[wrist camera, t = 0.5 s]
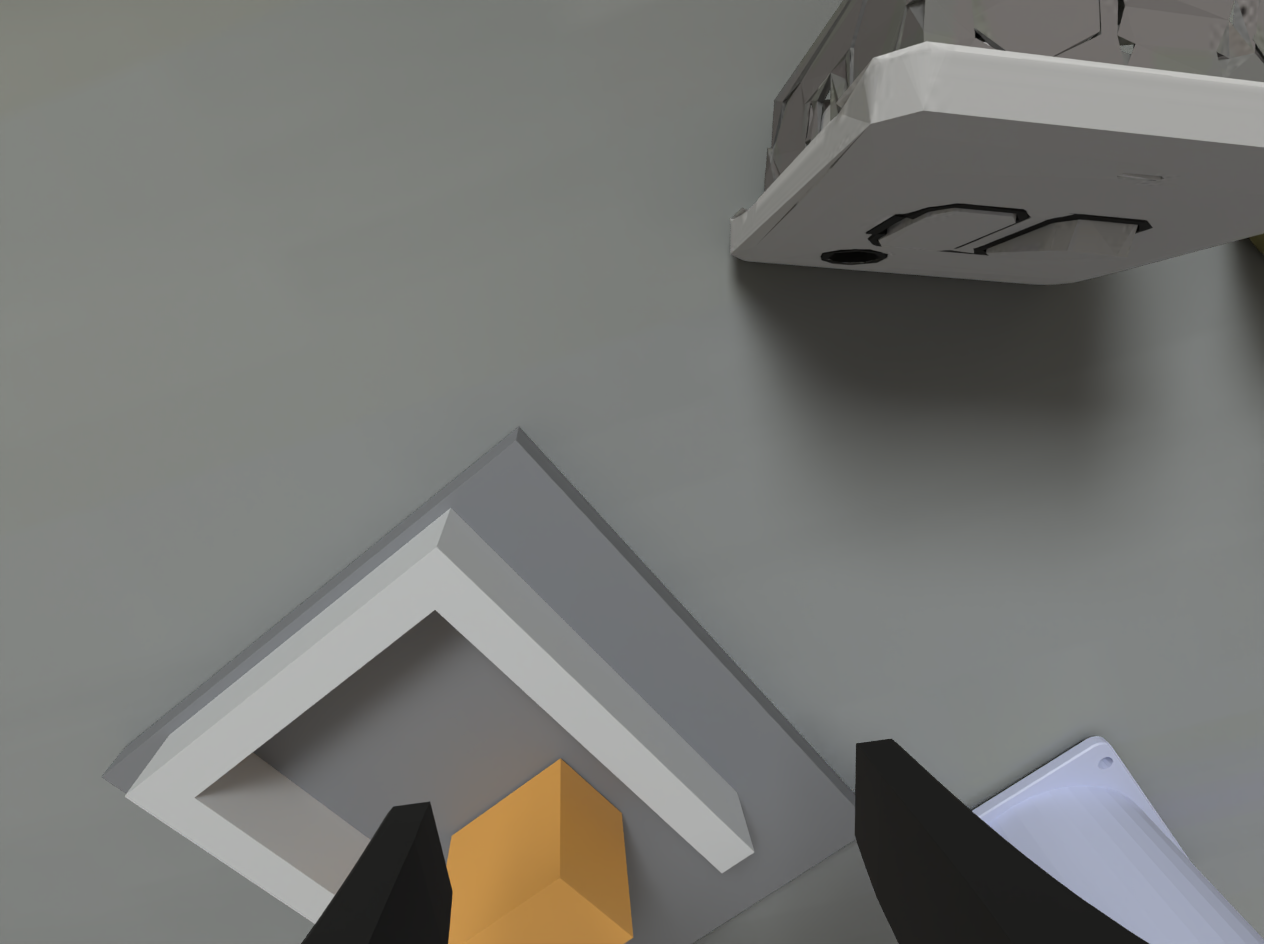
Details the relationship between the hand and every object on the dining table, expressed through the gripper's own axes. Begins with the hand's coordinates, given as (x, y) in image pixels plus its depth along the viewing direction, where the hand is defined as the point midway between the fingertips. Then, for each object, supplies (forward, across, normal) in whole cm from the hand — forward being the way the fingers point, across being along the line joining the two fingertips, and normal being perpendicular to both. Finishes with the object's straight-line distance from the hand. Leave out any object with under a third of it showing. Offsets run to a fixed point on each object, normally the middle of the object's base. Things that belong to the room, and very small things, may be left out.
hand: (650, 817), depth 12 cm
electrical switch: (+10, -8, -10) cm, 16 cm away
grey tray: (+10, +4, +8) cm, 13 cm away
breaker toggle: (+9, +3, +9) cm, 13 cm away
